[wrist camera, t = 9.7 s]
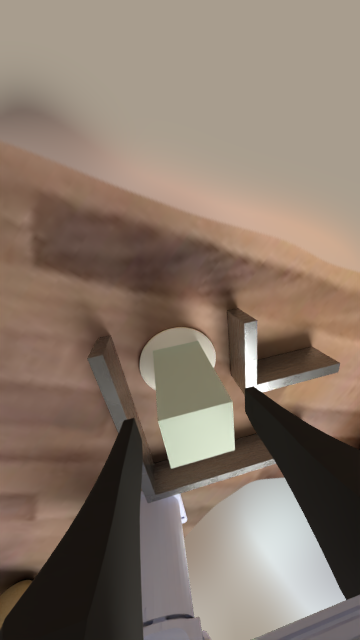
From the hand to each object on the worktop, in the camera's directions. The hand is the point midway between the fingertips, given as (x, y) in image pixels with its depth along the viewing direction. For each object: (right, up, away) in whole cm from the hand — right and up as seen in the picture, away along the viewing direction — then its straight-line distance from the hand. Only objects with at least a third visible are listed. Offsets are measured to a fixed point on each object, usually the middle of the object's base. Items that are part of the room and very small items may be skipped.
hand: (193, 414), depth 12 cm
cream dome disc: (-1, +2, +5) cm, 6 cm away
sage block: (-1, +2, +5) cm, 6 cm away
